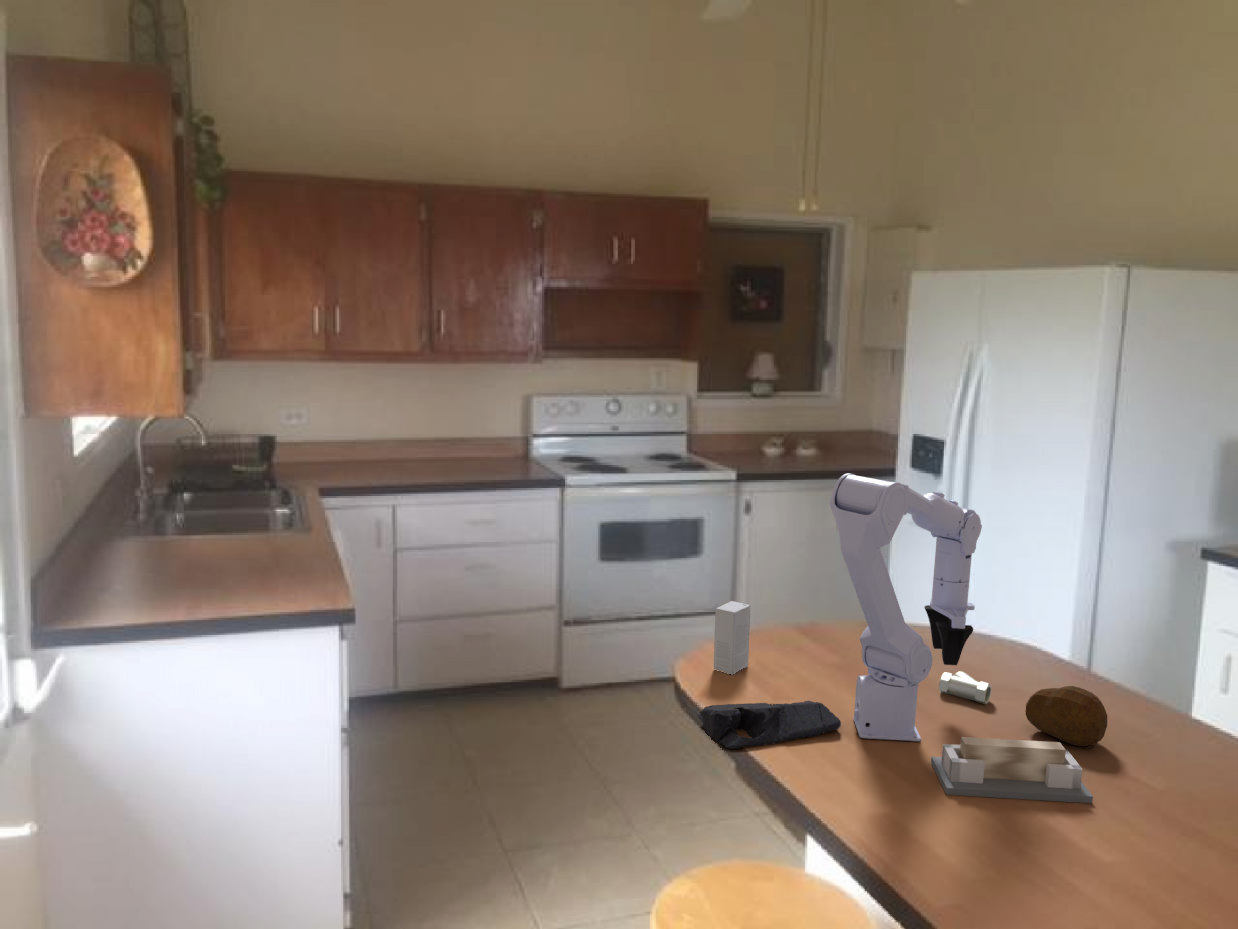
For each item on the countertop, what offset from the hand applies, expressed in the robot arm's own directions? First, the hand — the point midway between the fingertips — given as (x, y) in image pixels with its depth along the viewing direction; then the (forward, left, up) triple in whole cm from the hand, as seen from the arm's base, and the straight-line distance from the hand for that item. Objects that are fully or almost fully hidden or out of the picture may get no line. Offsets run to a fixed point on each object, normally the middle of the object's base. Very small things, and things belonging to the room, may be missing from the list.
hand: (944, 656), depth 177 cm
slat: (+4, -26, -8) cm, 28 cm away
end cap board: (+4, -26, -9) cm, 28 cm away
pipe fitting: (+6, +7, -10) cm, 14 cm away
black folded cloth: (-30, -11, -10) cm, 33 cm away
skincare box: (-35, +14, -10) cm, 39 cm away
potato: (+18, -9, -10) cm, 22 cm away
